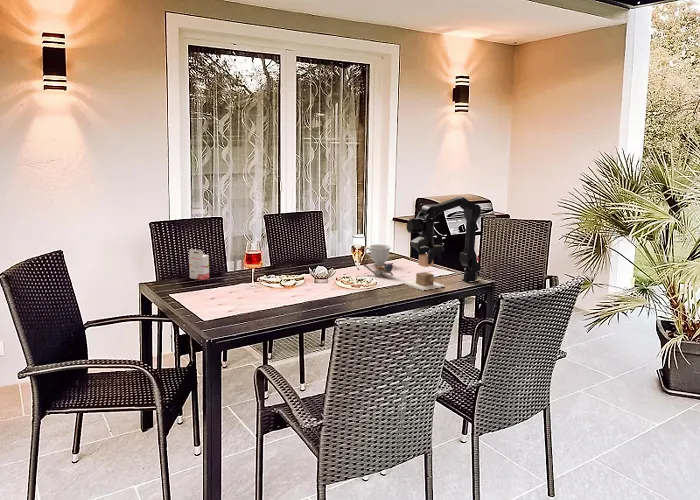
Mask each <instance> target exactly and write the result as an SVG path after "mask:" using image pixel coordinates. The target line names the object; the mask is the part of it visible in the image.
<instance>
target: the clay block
mask: <svg viewBox="0 0 700 500" xmlns="http://www.w3.org/2000/svg"><path fill="white" fill-rule="evenodd" d="M417 266H421V267H424V268H428V267H433V266H434V260H433V261H432V263H431V264H430V265H429V264H428V253H426V254H422V255H419V254H418V265H417Z"/></svg>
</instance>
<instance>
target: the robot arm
mask: <svg viewBox="0 0 700 500" xmlns="http://www.w3.org/2000/svg"><path fill="white" fill-rule="evenodd" d="M458 207H459V208H461V209H462V210H463V215H464V218H465V235H464V236H465V238H464V249H463V250H462V252H459V259H458V260H459V262H460V264H461V266H462V269H464V272H463V278H461V281H463V280H464V281H463V282H466V281H475V280H476V279H477V280H478V275H479V273H478V272H481V269H482V266H481V264H480V263H479V262H478V256H477V253H476V250H475V248H476V247H475V246H476V231H477V222H478V220H479V218H480V216H481V211H482V207H481V206H480V205H479V204H477V203H474V202H472V201H471V200H468V199H466V198H465V197H463V196H456V197H454V198H451V199H448V200H446V201H442V202H440V203H434V204H433V203H431V204H430V203H429V204H424V205H422V206H421V208H420V211H419V212H418V214H417V215H416V217H415V218H413V217H410V218H409V219H408V221H407V222H406V223H407V224H406V231H407V232H408V233H410V234H411V233H419V234H418V237H416V238H414V239H412V240H411V241H410V242H409V243H410V245H409V246H410V247H412V248H414V249H415V250H416V251H417V252H418V256H419V255H422V254H428V264H429V265H430V264H431V263H432V261H433V262H434V259H435V258H436V257H437V255H438V253H443V252H445V247H444V246H443V245H440V244H436V242H435V241H434V237H436V233H434V232H435V231H434V230H435V223H439V219H437V217H438V216H439V215H440V214H442V213H443V212H446V211H449V210H452V209H456V208H458ZM427 249H429V250H427Z"/></svg>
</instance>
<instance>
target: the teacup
mask: <svg viewBox="0 0 700 500" xmlns="http://www.w3.org/2000/svg"><path fill="white" fill-rule="evenodd" d="M391 248H392V247H391V246H390V245H387V244H370V245H369V246H367V247H365V248H364V253H365V255H367V256H370V258H371V259H372V262H374V265H376V266H385V263H387V261H388V260H389V254H390V249H391ZM367 250H368V251H369V252H370V253H368V252H367Z"/></svg>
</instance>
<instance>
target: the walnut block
mask: <svg viewBox="0 0 700 500" xmlns="http://www.w3.org/2000/svg"><path fill="white" fill-rule="evenodd" d="M415 277H416V278H415V281H416V283H417V284H420V285H422V286H427V285H433V282H435V281H434V280H435V279H434V277H435V274H433V273H431V272H427V271H424V272H423V271H422V272H417V273H416V276H415Z"/></svg>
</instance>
